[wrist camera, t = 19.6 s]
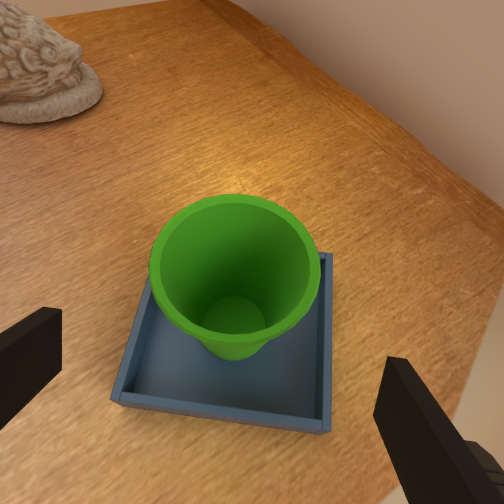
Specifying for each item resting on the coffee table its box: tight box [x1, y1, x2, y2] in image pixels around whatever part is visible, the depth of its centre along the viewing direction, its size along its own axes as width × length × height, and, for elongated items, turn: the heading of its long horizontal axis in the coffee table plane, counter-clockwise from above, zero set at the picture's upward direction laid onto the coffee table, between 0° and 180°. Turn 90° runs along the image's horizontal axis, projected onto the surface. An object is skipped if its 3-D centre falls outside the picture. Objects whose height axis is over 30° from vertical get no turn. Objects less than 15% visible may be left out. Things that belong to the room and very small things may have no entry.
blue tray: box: [110, 252, 333, 435], centre depth 27 cm, size 14×13×3 cm
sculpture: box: [0, 0, 103, 124], centre depth 38 cm, size 12×17×10 cm
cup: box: [148, 194, 321, 361], centre depth 23 cm, size 9×9×11 cm
